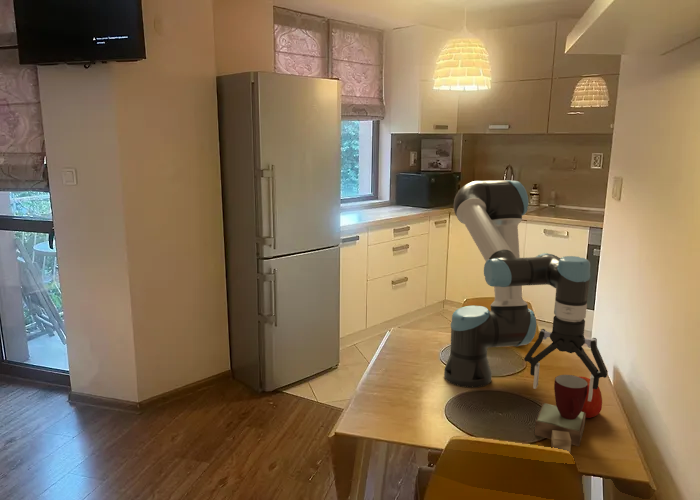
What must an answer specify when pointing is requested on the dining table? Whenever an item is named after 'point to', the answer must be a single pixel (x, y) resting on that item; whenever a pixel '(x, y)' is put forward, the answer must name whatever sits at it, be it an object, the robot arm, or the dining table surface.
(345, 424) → the dining table surface
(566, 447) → the oak block
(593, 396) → the apple
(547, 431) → the podium
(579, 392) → the mug
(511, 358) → the dining table surface
